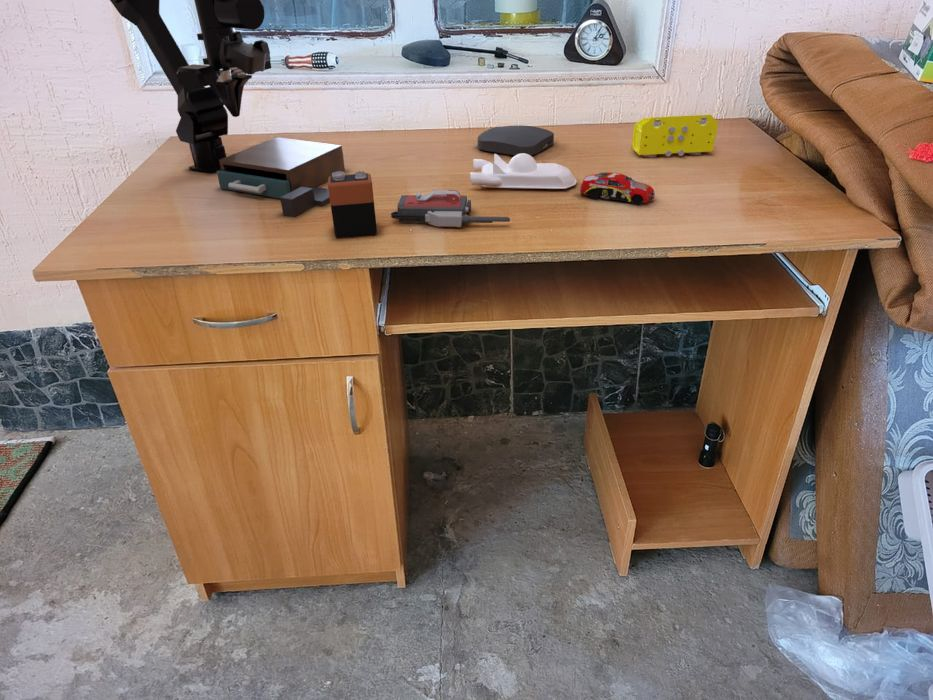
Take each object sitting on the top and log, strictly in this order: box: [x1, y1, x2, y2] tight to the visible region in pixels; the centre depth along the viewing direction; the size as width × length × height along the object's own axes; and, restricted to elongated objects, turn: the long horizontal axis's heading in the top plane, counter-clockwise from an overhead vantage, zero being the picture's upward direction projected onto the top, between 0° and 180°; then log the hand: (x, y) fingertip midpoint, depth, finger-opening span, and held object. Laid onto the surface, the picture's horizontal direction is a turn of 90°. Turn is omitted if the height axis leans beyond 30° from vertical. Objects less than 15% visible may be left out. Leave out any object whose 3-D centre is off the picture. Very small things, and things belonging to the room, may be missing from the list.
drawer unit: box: [219, 136, 346, 192], centre depth 128 cm, size 17×17×5 cm
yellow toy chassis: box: [631, 114, 719, 158], centre depth 136 cm, size 16×6×8 cm, turn 95°
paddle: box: [279, 186, 330, 218], centre depth 117 cm, size 6×12×3 cm, turn 155°
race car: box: [579, 172, 656, 206], centre depth 116 cm, size 13×5×4 cm, turn 63°
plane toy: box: [469, 153, 577, 190], centre depth 123 cm, size 10×20×6 cm, turn 86°
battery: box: [327, 170, 378, 239], centre depth 104 cm, size 4×7×10 cm, turn 100°
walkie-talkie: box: [390, 189, 511, 228], centre depth 109 cm, size 9×4×20 cm
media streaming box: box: [477, 124, 555, 156], centre depth 145 cm, size 15×15×3 cm
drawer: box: [216, 170, 291, 199], centre depth 127 cm, size 19×17×3 cm
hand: (236, 116), depth 125 cm, fingers closed
